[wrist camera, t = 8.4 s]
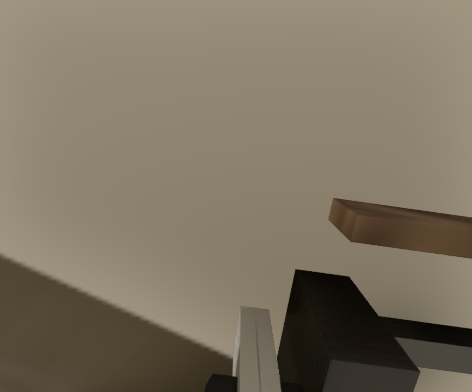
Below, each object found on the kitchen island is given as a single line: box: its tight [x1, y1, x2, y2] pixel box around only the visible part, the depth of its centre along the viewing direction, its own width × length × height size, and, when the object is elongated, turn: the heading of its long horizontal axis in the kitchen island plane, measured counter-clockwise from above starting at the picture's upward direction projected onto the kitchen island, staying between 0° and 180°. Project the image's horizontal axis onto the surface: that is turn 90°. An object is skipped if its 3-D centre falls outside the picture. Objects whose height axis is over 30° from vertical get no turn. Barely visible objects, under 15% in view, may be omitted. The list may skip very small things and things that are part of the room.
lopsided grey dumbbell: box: [277, 269, 472, 392], centre depth 12 cm, size 16×9×6 cm, turn 82°
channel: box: [329, 198, 472, 258], centre depth 14 cm, size 14×14×3 cm
